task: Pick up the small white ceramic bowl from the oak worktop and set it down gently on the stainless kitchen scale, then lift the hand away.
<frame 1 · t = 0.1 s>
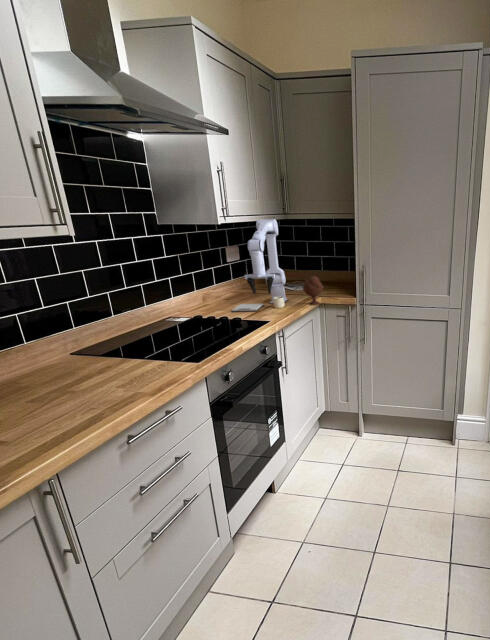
hand: (262, 293, 217), 10 cm above the worktop, tool pointing down, fingers open, 7 cm apart
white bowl: (279, 306, 233), on the worktop
scale: (248, 308, 231), on the worktop
ice cream bowl: (314, 304, 238), on the worktop
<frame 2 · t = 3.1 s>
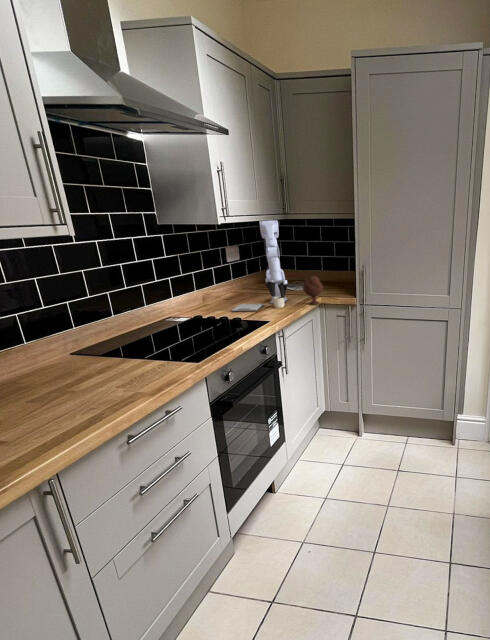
hand: (278, 296, 231), 5 cm above the worktop, tool pointing down, fingers open, 7 cm apart
nothing on the worktop moved.
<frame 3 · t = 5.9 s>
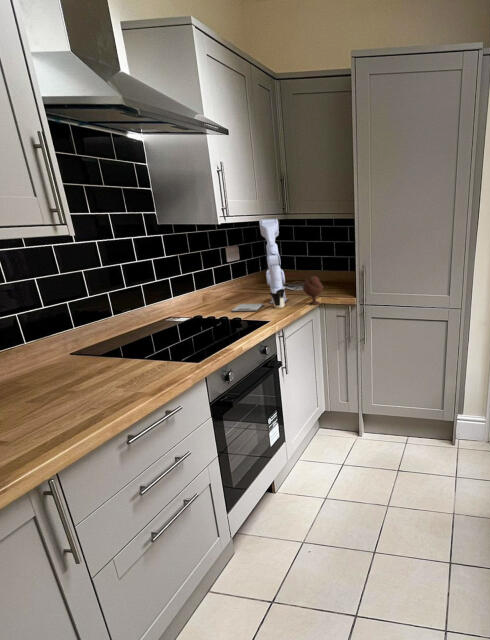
hand: (279, 304, 233), 1 cm above the worktop, tool pointing down, fingers closed on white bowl, 5 cm apart
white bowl: (279, 306, 234), on the worktop, touching gripper
everything else where it was.
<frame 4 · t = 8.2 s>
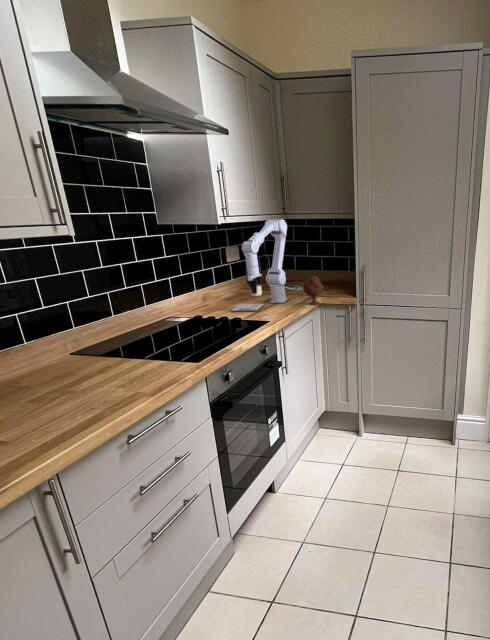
hand: (256, 292, 229), 8 cm above the worktop, tool pointing down, fingers closed on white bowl, 5 cm apart
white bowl: (256, 295, 229), point 7 cm above the worktop, touching gripper
everything else where it was.
when the fingers open (3 cm above the worktop, at t = 10.7 s): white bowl stays where it is, resting on scale.
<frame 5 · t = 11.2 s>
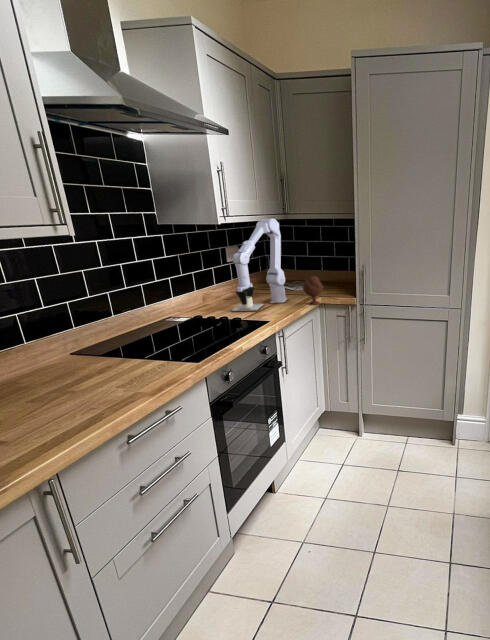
hand: (247, 303, 230), 3 cm above the worktop, tool pointing down, fingers open, 7 cm apart
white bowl: (247, 306, 231), point 1 cm above the worktop, touching scale
everything else where it was.
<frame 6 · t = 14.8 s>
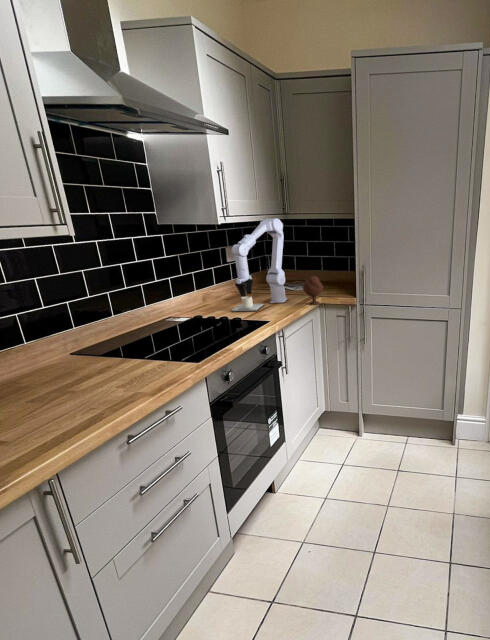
hand: (246, 295, 228), 7 cm above the worktop, tool pointing down, fingers open, 7 cm apart
nothing on the worktop moved.
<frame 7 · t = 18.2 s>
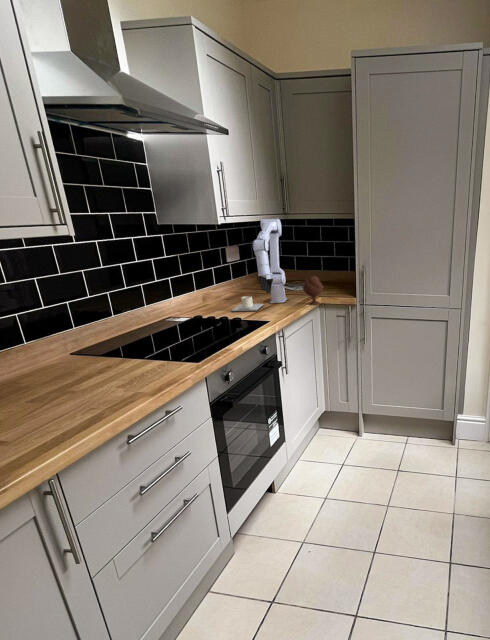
hand: (266, 291, 224), 9 cm above the worktop, tool pointing down, fingers open, 7 cm apart
nothing on the worktop moved.
at the end: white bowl inside the target area on the scale (0.0 cm from its centre), point 1.2 cm above the scale's base; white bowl tilted 0°; the gripper is holding nothing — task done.
